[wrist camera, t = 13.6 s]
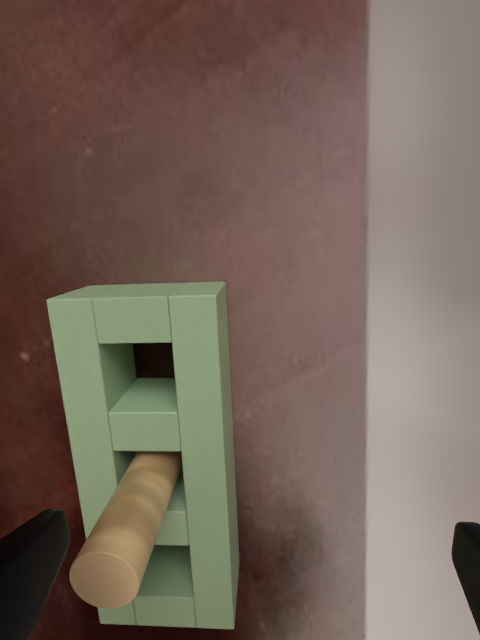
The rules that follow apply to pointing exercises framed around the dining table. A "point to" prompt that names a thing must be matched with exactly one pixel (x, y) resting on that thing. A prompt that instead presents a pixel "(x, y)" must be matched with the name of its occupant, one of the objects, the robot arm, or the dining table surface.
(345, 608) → the dining table surface
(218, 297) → the peg board
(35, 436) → the dining table surface
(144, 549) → the peg
